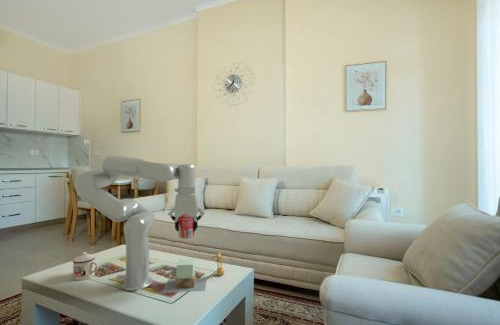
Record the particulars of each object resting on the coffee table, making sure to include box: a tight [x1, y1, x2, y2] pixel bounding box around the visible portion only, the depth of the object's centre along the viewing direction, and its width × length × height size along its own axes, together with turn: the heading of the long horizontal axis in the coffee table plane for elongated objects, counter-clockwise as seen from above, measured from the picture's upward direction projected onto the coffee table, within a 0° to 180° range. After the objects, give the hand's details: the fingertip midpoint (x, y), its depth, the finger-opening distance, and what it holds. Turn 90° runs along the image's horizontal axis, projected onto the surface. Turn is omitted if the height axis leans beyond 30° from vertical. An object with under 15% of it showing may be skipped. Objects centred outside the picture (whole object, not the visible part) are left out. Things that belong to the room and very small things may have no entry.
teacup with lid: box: [72, 251, 100, 281], centre depth 122 cm, size 12×9×12 cm
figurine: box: [211, 252, 228, 277], centre depth 123 cm, size 8×6×12 cm
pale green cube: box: [176, 258, 196, 279], centre depth 115 cm, size 7×7×6 cm
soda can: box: [177, 212, 195, 240], centre depth 115 cm, size 7×7×12 cm
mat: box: [161, 277, 208, 294], centre depth 114 cm, size 18×12×1 cm, turn 95°
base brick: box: [174, 270, 197, 288], centre depth 115 cm, size 8×8×4 cm
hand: (186, 230), depth 115 cm, fingers closed on soda can, 7 cm apart
